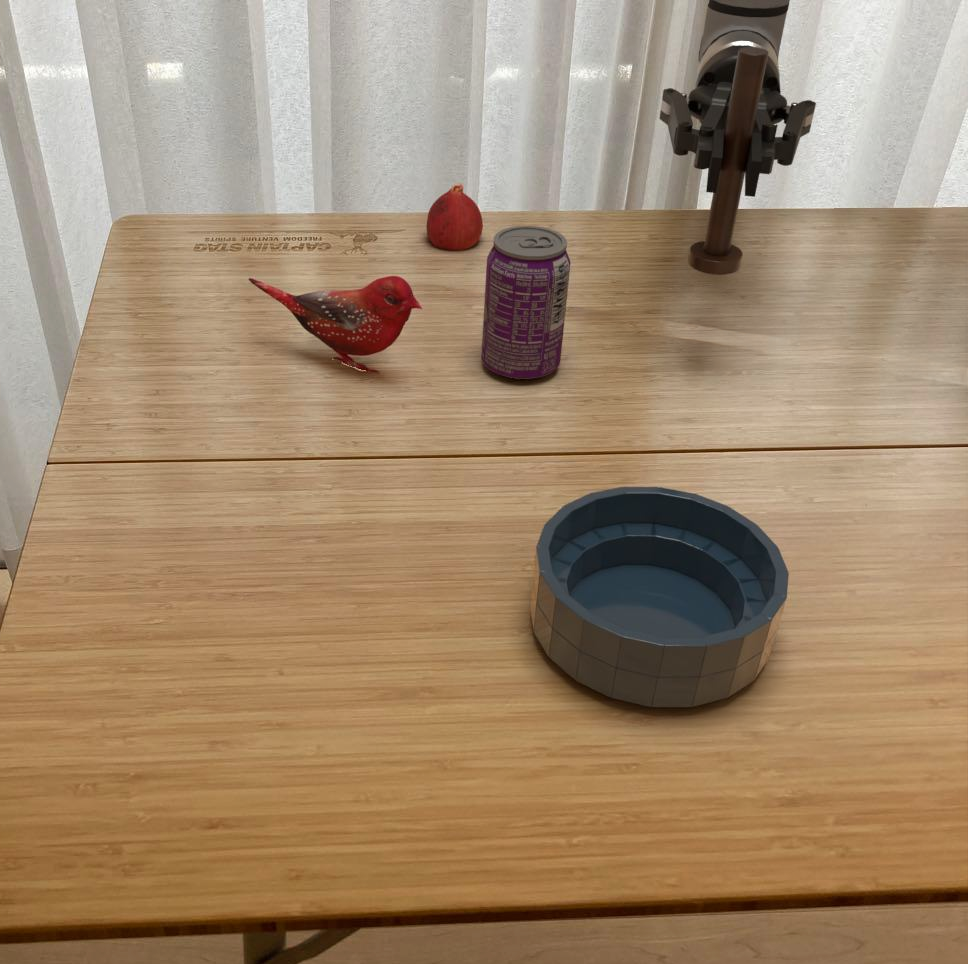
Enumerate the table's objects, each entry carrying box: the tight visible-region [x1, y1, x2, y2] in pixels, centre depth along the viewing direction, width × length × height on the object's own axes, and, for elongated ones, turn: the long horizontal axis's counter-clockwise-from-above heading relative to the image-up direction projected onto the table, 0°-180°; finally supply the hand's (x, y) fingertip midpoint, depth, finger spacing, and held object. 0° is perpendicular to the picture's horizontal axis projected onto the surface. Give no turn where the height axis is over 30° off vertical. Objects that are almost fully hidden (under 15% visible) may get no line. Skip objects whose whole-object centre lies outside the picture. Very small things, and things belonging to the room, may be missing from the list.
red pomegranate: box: [426, 182, 484, 251], centre depth 115 cm, size 6×6×8 cm
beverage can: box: [480, 225, 571, 380], centre depth 97 cm, size 7×7×12 cm
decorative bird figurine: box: [248, 275, 423, 375], centre depth 97 cm, size 3×18×10 cm, turn 62°
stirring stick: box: [687, 47, 768, 276], centre depth 89 cm, size 4×4×17 cm
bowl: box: [529, 486, 790, 708], centre depth 72 cm, size 16×16×6 cm
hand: (733, 176), depth 84 cm, fingers closed on stirring stick, 2 cm apart
